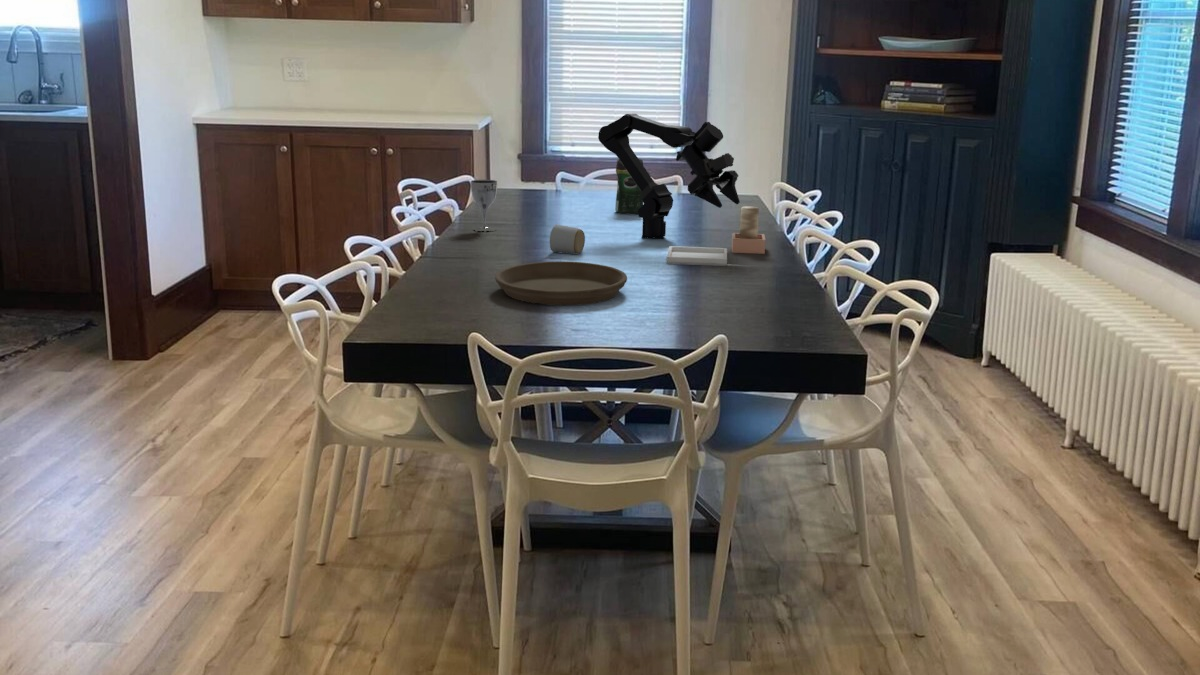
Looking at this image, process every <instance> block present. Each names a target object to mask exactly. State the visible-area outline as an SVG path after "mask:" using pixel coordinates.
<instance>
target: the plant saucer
mask: <svg viewBox="0 0 1200 675" xmlns="http://www.w3.org/2000/svg"><path fill="white" fill-rule="evenodd" d="M494 278H495V282H496V283H497V285H498V286H499V288H500V289H502V290H504V293H505V294H506V295H507V296H508V297H509V296H510V297H509V298H511V297H512V298H511V299H513V298H515V299H514V300H516V299H518V300H517V301H519V300H523V301H527V302H526V303H529V302H533V303H532V304H535V303H542V304H541V305H545V304H552V305H551V306H576V305H577V306H578V305H579V306H582V305H590V304H597V303H601V302H604V301H609V300H611V299H613V298H614V297H616V296H617V294H618V292H619V291H620V290H621V289H623V287H625V284H626V283H627V281H628V276H627V274H626V273H625V272H624V271H623V270H620V269H618V268H616V267H612V266H608V265H604V264H598V263H591V262H584V261H583V262H582V261H565V260H564V261H562V260H559V261H557V260H556V261H554V260H553V261H539V262H536V261H535V262H527V263H521V264H516V265H512V266H508V267H506V268H502V269H501V270H499V271H497V272H496V274H495V275H494ZM523 301H522V302H523Z"/></svg>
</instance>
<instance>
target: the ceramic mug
mask: <svg viewBox="0 0 1200 675" xmlns="http://www.w3.org/2000/svg"><path fill="white" fill-rule="evenodd" d="M585 242H586V235H585V232H584V230H583V229H580V228H578V227H573V226H568V225H562V224H554V226H553V227H552V229H551V231H550V235H549V249H550V250H551V252H553V253H558V252H562V253H561V254H568V253H570V255H578V254H580V253H582V251H583V250H584V247H585Z"/></svg>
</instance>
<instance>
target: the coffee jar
mask: <svg viewBox="0 0 1200 675" xmlns="http://www.w3.org/2000/svg"><path fill="white" fill-rule="evenodd" d="M637 158H638V157H637ZM638 159H639V160H640V162H641V163H642V165H643V166H644V161H643V159H642V158H638ZM615 174H616V176H617V186H616V188H617V189H616V197H615V212H616V213H618V214H624V215H637V214H638V210H639V209H640V208H641V207H642V206H643V205H644V203H643V201H642V192H641V190H640V189H639V187H638V186H637V184H636V183H635V181H634V180H633V179H632V177H631V176H630V174H629V173H628V171H627V170H626V168H625V167H624V166H623V164H622V163H621V161H620V160H619V158H618V159H617V161H616V167H615Z"/></svg>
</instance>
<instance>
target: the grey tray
mask: <svg viewBox="0 0 1200 675" xmlns="http://www.w3.org/2000/svg"><path fill="white" fill-rule="evenodd" d="M727 264H728V248H727V247H704V246H703V247H702V246H701V247H700V246H679V245H678V246H677V245H675V246H672V245H669V247H668V250H667V254H666V265H689V266H690V265H691V266H711V267H712V266H713V267H714V266H715V267H720V266H721V267H727V266H728V265H727Z"/></svg>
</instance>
